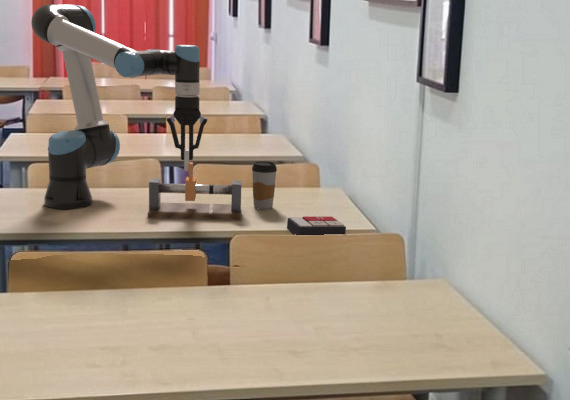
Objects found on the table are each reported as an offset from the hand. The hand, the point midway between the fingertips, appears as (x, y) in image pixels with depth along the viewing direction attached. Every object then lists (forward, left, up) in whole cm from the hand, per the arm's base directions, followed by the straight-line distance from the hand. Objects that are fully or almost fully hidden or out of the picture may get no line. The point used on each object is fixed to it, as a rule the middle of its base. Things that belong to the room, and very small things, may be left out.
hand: (186, 170), depth 259 cm
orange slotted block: (+1, 0, -9) cm, 9 cm away
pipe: (+3, 0, -13) cm, 13 cm away
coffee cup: (+25, +10, -14) cm, 30 cm away
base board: (+3, 0, -14) cm, 14 cm away
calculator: (+40, -18, -15) cm, 47 cm away
